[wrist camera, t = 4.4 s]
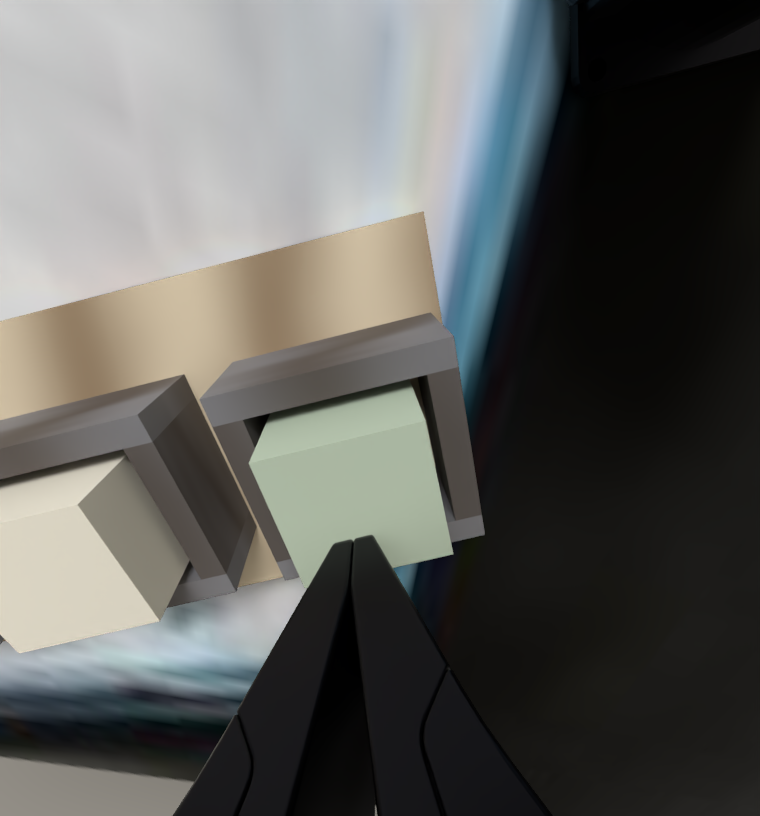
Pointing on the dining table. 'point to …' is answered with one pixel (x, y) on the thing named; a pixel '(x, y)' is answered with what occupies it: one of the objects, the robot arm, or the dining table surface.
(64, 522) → the button cream
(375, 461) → the button sage
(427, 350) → the button panel
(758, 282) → the dining table surface
